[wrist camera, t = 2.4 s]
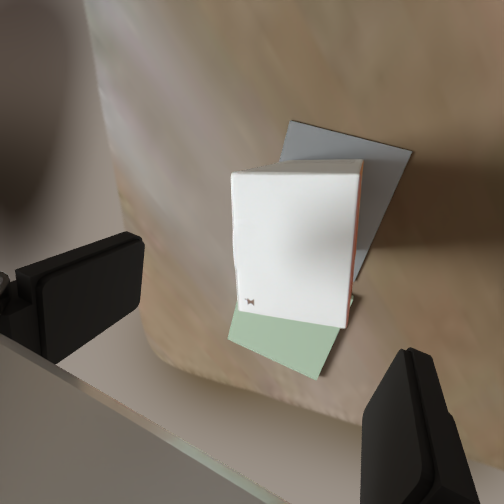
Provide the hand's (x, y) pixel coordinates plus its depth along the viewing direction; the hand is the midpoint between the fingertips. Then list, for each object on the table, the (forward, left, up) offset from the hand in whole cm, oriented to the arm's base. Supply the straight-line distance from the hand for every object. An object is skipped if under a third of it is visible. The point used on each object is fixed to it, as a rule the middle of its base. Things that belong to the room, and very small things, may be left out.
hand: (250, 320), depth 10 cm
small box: (0, 0, -19) cm, 19 cm away
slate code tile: (0, 0, -19) cm, 19 cm away
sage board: (+13, 0, -19) cm, 23 cm away
